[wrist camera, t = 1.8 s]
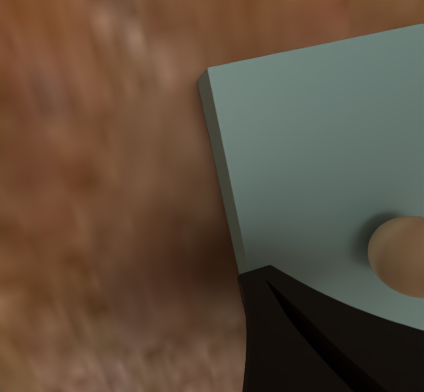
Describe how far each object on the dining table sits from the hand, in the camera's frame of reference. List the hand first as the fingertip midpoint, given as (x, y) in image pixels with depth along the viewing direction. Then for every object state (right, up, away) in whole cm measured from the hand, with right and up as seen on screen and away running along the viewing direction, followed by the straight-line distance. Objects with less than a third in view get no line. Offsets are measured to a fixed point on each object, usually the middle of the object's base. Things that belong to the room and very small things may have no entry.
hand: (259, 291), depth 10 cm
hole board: (+8, +3, +4) cm, 9 cm away
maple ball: (+6, +1, 0) cm, 6 cm away
